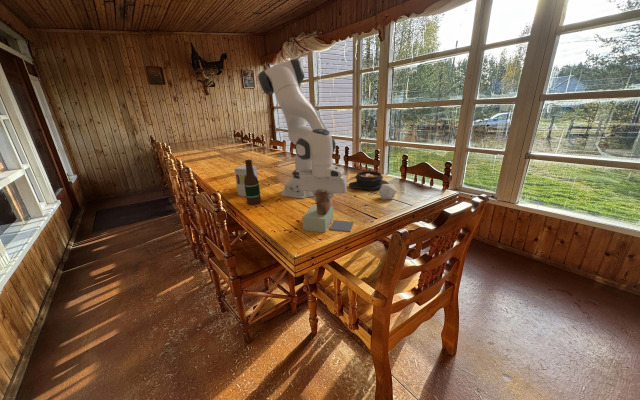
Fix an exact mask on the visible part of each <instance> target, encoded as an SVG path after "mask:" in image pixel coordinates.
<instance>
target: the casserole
mask: <svg viewBox="0 0 640 400" xmlns="http://www.w3.org/2000/svg"><path fill="white" fill-rule="evenodd" d="M354 177H355V179H356V181H352V182H349V183H348V185H349V187H351V188H353V189H362V190H375V189H380V188H381V186H382V184H390V183H389V182H388V181H386V180H384V176H383V175H382V173H381V172H378V171H374V170H373V171H371V170H365V171H359V172H358V173H356V176H354Z"/></svg>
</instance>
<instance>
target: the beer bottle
mask: <svg viewBox="0 0 640 400" xmlns="http://www.w3.org/2000/svg"><path fill="white" fill-rule="evenodd" d="M244 163H245V165H246V177H245V179H244V186H245V192H246V196H245V197H246V203H247V204H248V205H249V206H256V205H259V204H260V203H261V202H262V197H261V190H260V182H259V180H258V179H257V177H258V176H257V177H256V176H255V175H254V172H253V167H252V166H253V160H252V159H245V160H244Z"/></svg>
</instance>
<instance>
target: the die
mask: <svg viewBox="0 0 640 400" xmlns="http://www.w3.org/2000/svg"><path fill="white" fill-rule="evenodd" d="M396 193H397V189H396V188H395V186H394V185H393V183H389V184H382V186H381V187H380V188H379V190H378V194H379V196H380V197H381V199H382V200H383V201H384V200H387V201H388V200H393V199H394V198H395V195H396Z"/></svg>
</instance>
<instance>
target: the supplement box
mask: <svg viewBox="0 0 640 400" xmlns="http://www.w3.org/2000/svg"><path fill="white" fill-rule="evenodd" d="M252 167H253V172H254V175H255V176H256V177H257V179H258V178H259V177H258V171H257V166H256V165H252ZM234 174H235V175H234V176H235V181H236V183H235V184H236V189H237V196H242V197H246V192H245V186H244V179H245V177H246V164H244V165H243V164H242V165H240V166H238V167H234Z"/></svg>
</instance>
